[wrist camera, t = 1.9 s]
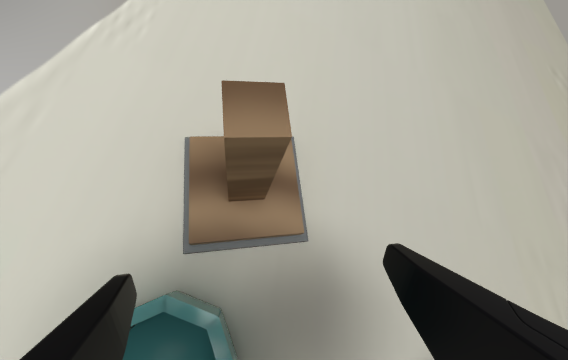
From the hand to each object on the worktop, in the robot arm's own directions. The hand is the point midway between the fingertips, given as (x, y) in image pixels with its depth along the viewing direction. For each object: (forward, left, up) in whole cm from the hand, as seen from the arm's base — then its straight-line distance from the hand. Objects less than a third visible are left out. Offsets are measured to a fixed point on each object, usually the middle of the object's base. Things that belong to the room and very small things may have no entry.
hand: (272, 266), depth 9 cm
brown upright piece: (+4, -6, -13) cm, 14 cm away
